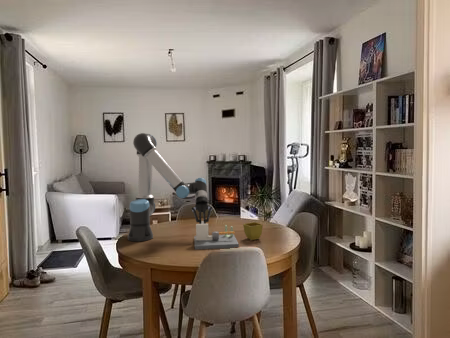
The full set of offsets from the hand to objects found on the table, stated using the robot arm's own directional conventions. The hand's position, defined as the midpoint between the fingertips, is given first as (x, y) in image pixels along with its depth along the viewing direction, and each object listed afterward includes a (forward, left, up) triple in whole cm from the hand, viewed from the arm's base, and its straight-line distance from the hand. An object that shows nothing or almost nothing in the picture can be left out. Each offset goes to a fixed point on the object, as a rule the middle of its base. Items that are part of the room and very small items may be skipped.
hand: (203, 231), depth 210 cm
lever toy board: (+7, -5, -6) cm, 10 cm away
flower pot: (+30, +2, -6) cm, 31 cm away
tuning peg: (+7, -5, -4) cm, 9 cm away
